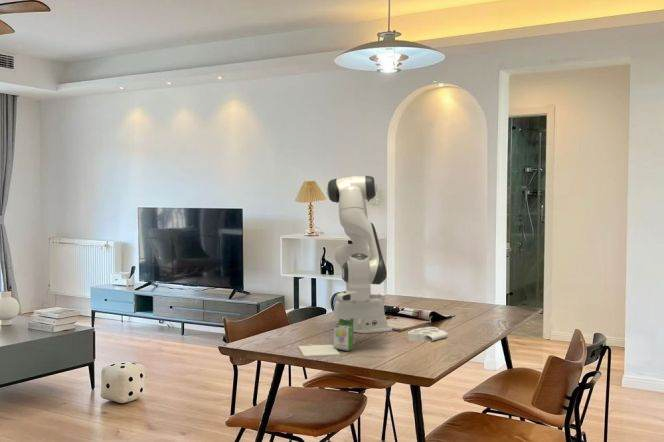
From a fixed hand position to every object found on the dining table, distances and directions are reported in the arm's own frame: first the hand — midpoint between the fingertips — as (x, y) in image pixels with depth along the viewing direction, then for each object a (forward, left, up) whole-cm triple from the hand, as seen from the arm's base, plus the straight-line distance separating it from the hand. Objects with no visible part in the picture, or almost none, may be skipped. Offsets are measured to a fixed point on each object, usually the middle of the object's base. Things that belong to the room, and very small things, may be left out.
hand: (359, 329), depth 261 cm
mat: (+16, 0, -8) cm, 18 cm away
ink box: (+7, 0, -8) cm, 10 cm away
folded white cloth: (-34, -16, -9) cm, 38 cm away
